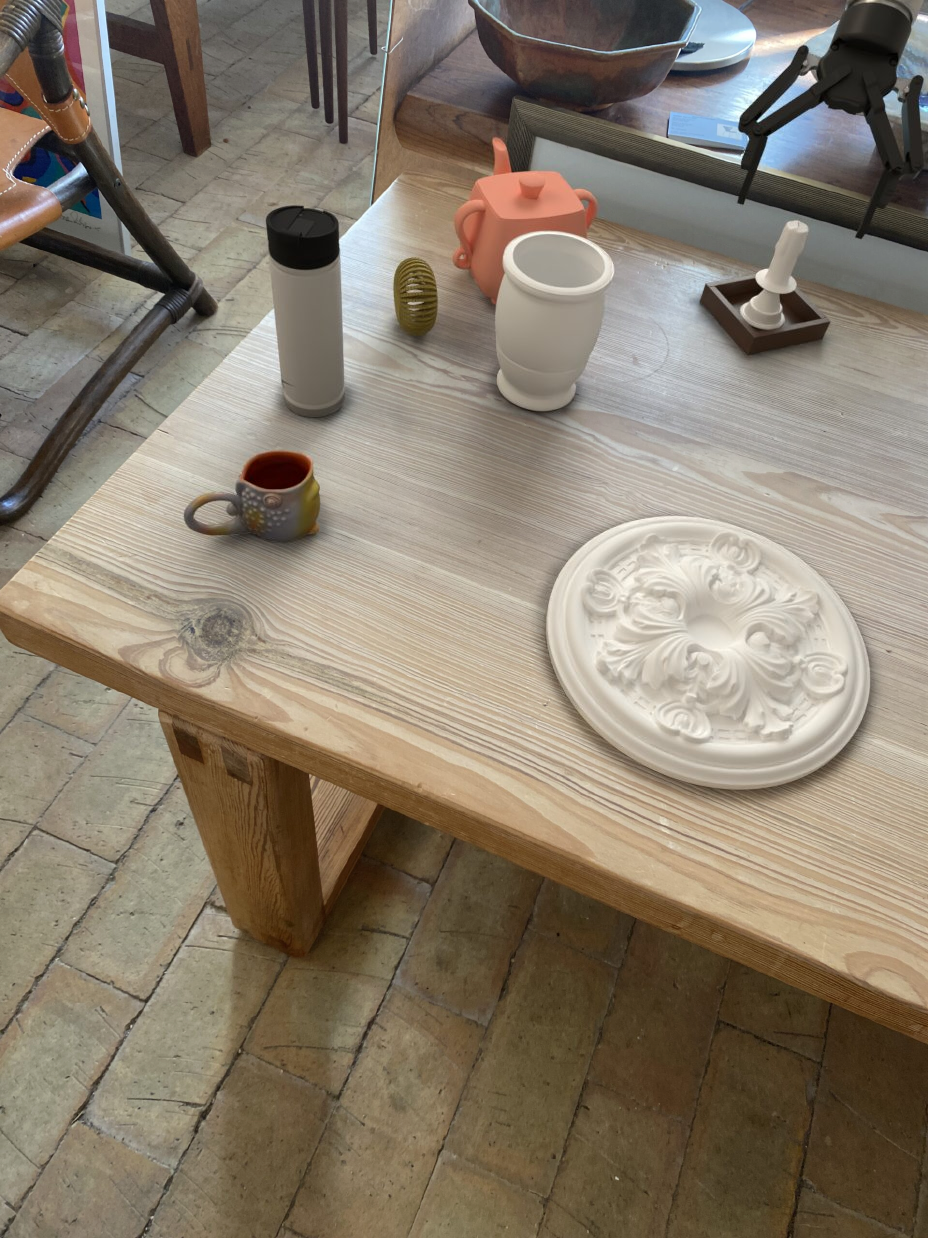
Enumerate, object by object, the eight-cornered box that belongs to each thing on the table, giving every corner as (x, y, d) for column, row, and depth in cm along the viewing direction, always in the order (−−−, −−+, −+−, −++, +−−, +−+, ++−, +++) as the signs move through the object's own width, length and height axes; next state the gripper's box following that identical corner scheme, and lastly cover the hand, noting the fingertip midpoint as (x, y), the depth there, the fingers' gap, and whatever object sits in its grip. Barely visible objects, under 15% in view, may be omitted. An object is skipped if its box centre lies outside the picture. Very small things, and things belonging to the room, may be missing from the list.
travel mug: (272, 412, 92) (251, 227, 76) (295, 372, 96) (280, 188, 79) (332, 426, 91) (323, 243, 75) (352, 385, 95) (348, 202, 79)
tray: (822, 339, 107) (831, 321, 104) (747, 355, 103) (754, 337, 101) (772, 287, 112) (779, 268, 110) (699, 301, 109) (705, 282, 107)
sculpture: (389, 307, 103) (391, 242, 97) (424, 305, 104) (428, 240, 98) (402, 352, 99) (404, 287, 92) (438, 349, 100) (443, 285, 93)
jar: (601, 381, 99) (633, 256, 87) (555, 434, 93) (583, 308, 81) (517, 342, 101) (536, 215, 89) (468, 391, 96) (482, 263, 84)
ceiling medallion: (751, 493, 90) (762, 470, 88) (933, 726, 76) (953, 707, 73) (494, 563, 82) (498, 540, 80) (644, 838, 68) (654, 821, 65)
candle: (764, 336, 105) (804, 240, 95) (729, 312, 107) (765, 216, 98) (793, 320, 107) (835, 225, 98) (758, 297, 110) (796, 202, 100)
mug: (308, 485, 86) (304, 432, 81) (331, 537, 83) (328, 486, 77) (180, 515, 83) (167, 462, 77) (198, 570, 79) (185, 519, 74)
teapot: (550, 339, 102) (570, 234, 92) (423, 286, 106) (429, 181, 96) (604, 275, 111) (628, 173, 100) (485, 229, 114) (496, 126, 104)
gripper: (983, 65, 100) (903, 259, 103) (761, 9, 104) (692, 197, 107) (1008, 29, 92) (921, 238, 96) (768, -30, 96) (694, 173, 100)
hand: (800, 217), depth 102 cm, fingers open, 13 cm apart
